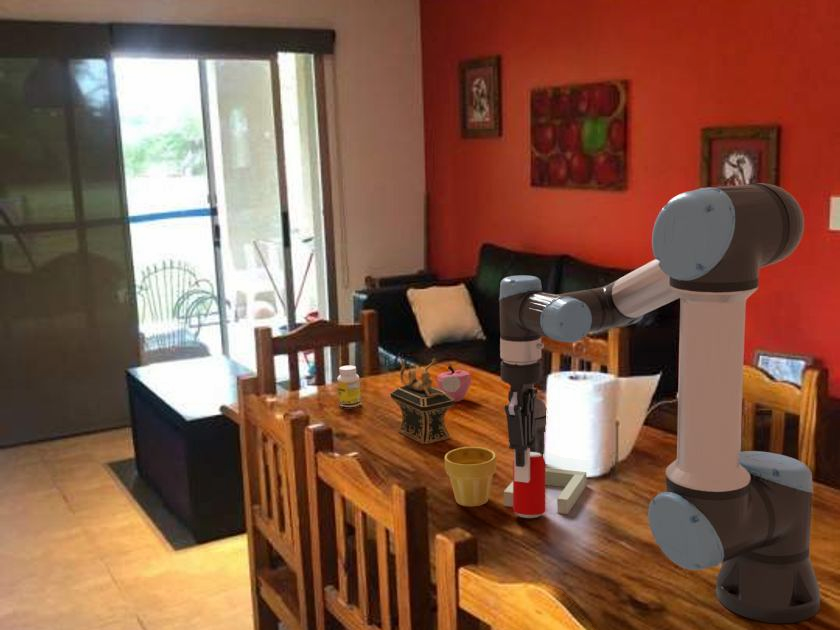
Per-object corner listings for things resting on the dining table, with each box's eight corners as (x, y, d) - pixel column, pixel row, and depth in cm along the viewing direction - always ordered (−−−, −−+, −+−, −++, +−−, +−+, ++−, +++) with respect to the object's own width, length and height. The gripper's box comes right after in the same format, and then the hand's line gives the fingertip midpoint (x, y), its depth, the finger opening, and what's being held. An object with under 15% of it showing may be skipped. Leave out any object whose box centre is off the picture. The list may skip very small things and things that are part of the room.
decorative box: (458, 439, 220) (455, 361, 216) (425, 448, 215) (421, 368, 211) (416, 419, 237) (413, 347, 233) (384, 427, 232) (380, 353, 228)
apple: (434, 404, 249) (432, 369, 247) (442, 395, 257) (441, 362, 255) (468, 406, 246) (466, 371, 244) (475, 397, 254) (474, 363, 252)
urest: (567, 514, 174) (567, 499, 174) (504, 505, 180) (503, 491, 179) (586, 485, 188) (586, 472, 187) (526, 478, 193) (526, 465, 192)
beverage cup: (511, 466, 200) (509, 380, 196) (523, 456, 206) (521, 372, 203) (542, 471, 197) (540, 383, 193) (553, 460, 203) (552, 374, 199)
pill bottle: (335, 404, 254) (333, 366, 251) (356, 401, 256) (353, 363, 254) (343, 410, 248) (340, 371, 246) (364, 406, 251) (361, 368, 248)
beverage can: (524, 510, 178) (524, 449, 177) (551, 515, 174) (551, 453, 174) (506, 516, 173) (506, 454, 173) (534, 521, 169) (534, 457, 169)
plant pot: (455, 514, 177) (453, 467, 175) (440, 495, 187) (438, 450, 185) (504, 506, 179) (503, 460, 178) (487, 487, 189) (485, 443, 187)
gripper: (530, 370, 158) (531, 495, 163) (550, 353, 170) (550, 471, 174) (490, 366, 161) (492, 490, 166) (512, 350, 173) (513, 466, 177)
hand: (522, 480), depth 170 cm, fingers closed
